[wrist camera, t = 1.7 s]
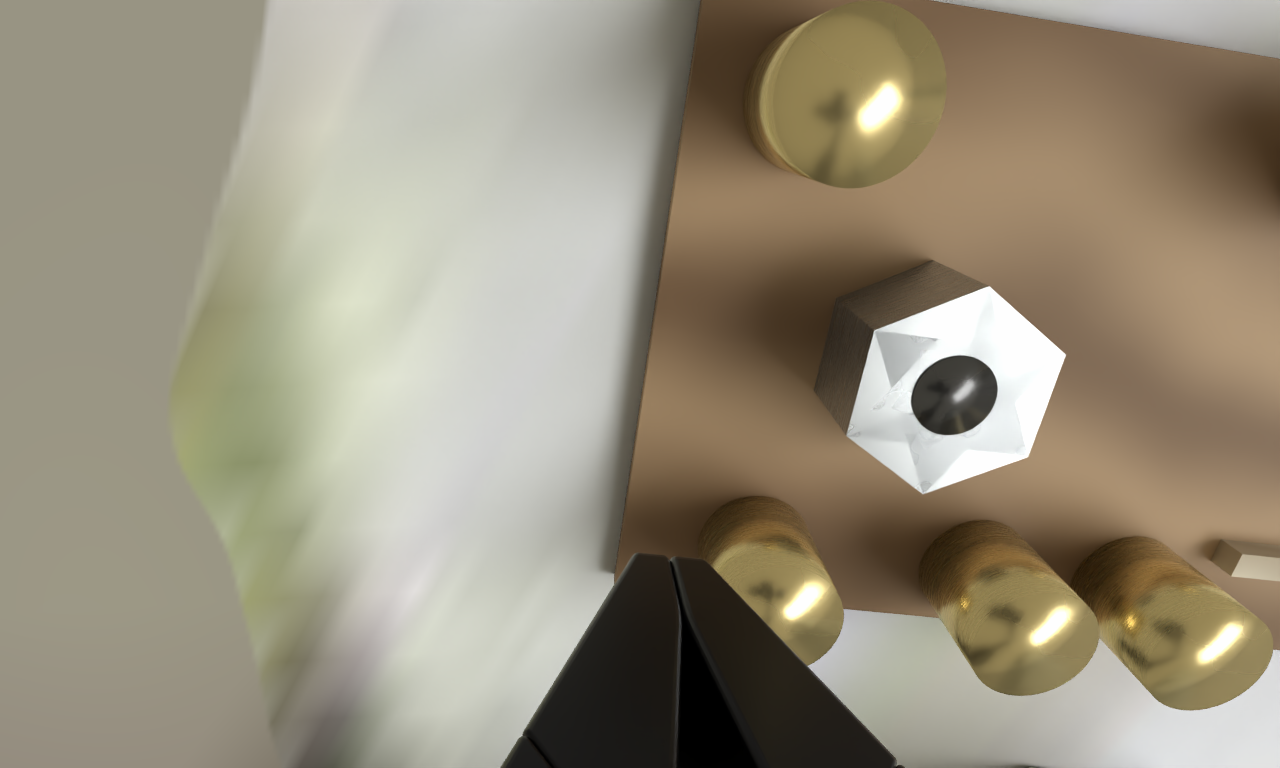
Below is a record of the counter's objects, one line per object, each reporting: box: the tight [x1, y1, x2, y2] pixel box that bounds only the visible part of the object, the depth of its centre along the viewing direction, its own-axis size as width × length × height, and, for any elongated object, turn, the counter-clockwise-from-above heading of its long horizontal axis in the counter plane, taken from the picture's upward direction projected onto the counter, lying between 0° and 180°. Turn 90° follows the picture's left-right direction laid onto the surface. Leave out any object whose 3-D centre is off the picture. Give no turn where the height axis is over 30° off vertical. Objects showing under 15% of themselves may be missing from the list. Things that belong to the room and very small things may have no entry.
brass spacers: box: [698, 0, 1273, 710], centre depth 18 cm, size 16×17×4 cm
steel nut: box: [814, 260, 1066, 494], centre depth 18 cm, size 5×5×3 cm
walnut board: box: [614, 0, 1280, 650], centre depth 20 cm, size 17×24×1 cm
